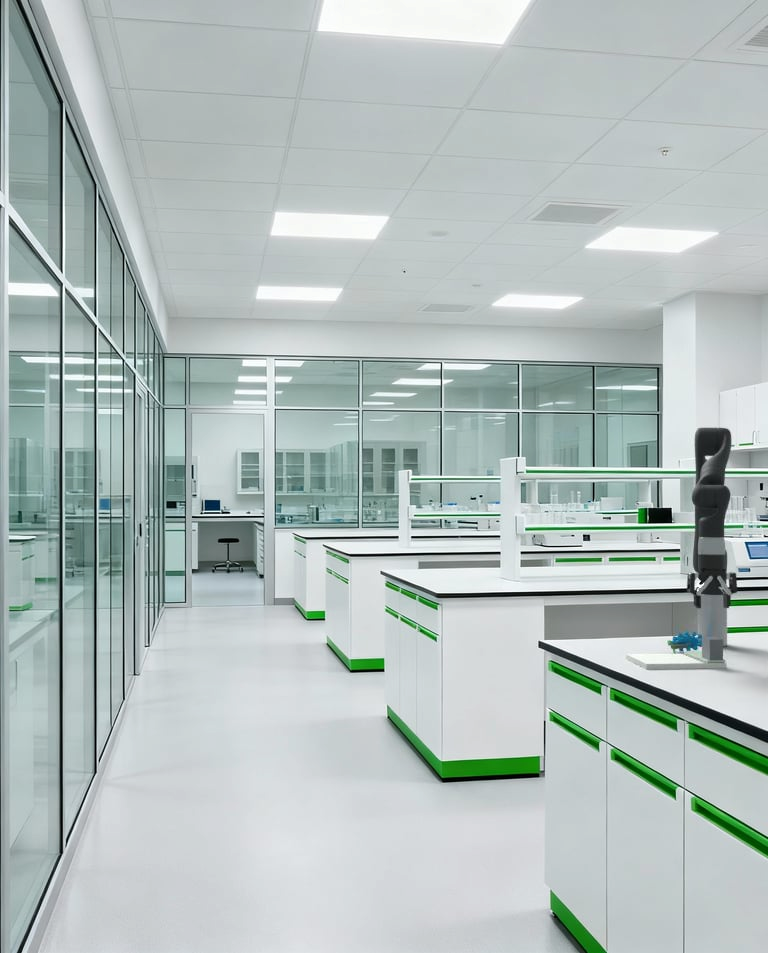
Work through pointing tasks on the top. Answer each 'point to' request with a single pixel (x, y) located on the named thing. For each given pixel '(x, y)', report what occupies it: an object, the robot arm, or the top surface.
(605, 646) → the top surface
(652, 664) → the ticket board
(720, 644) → the stub
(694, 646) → the gear
